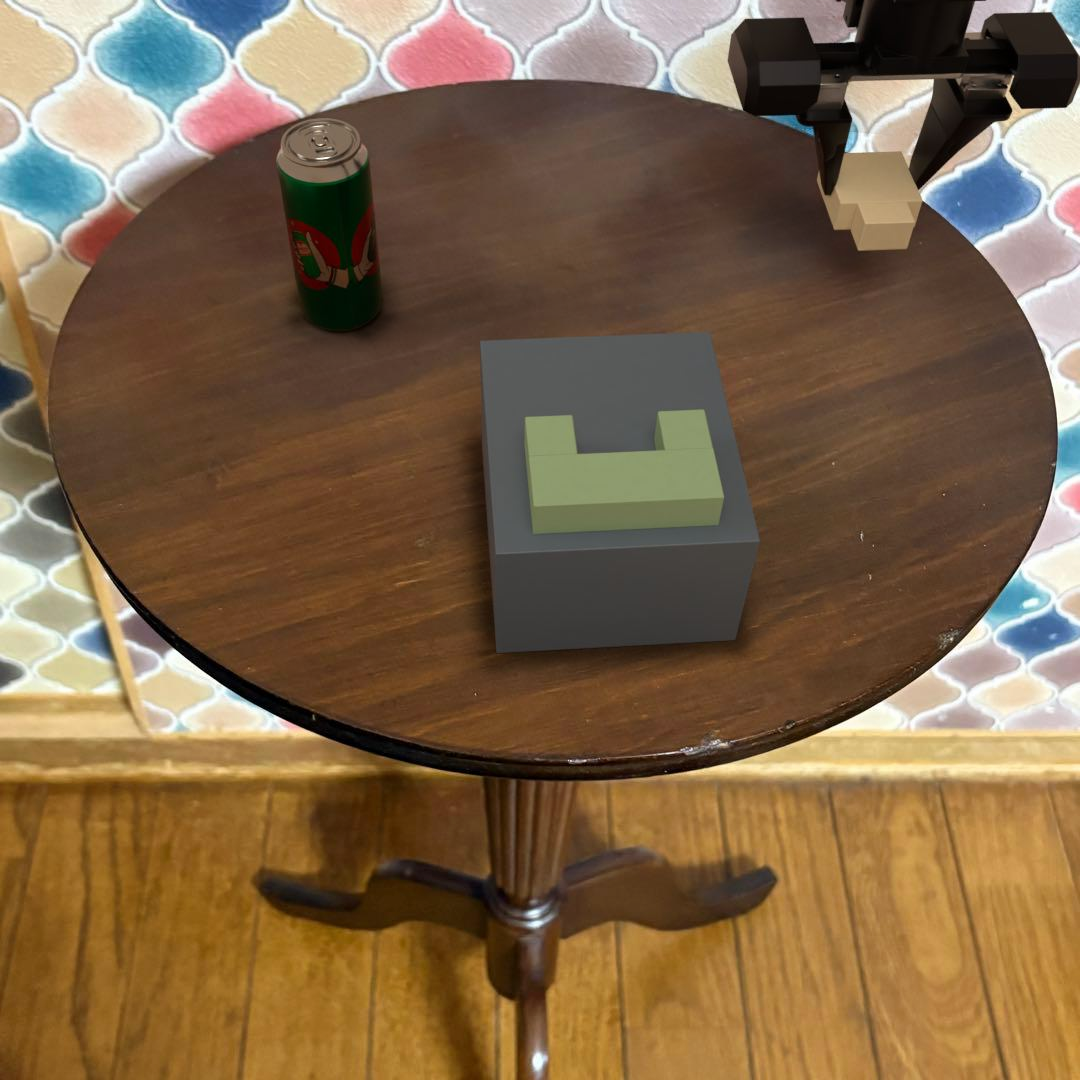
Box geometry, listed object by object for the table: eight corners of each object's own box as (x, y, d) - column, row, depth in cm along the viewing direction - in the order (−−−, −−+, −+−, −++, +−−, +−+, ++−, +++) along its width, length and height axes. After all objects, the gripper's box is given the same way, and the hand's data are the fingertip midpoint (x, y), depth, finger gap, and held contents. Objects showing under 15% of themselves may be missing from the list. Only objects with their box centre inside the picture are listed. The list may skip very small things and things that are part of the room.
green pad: (699, 437, 62) (704, 408, 60) (718, 525, 58) (724, 497, 57) (524, 445, 61) (524, 416, 60) (532, 534, 58) (533, 506, 56)
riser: (692, 436, 73) (710, 331, 67) (735, 640, 64) (760, 540, 58) (481, 446, 72) (479, 339, 66) (496, 653, 63) (495, 554, 57)
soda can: (368, 274, 81) (350, 105, 72) (394, 324, 78) (380, 155, 69) (290, 294, 80) (262, 124, 70) (314, 345, 77) (288, 176, 68)
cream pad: (894, 178, 81) (901, 150, 79) (923, 248, 76) (932, 221, 75) (816, 180, 81) (822, 153, 79) (841, 251, 76) (848, 224, 75)
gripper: (1059, -137, 72) (979, 110, 84) (730, -132, 71) (697, 118, 83) (1132, -38, 65) (1033, 216, 77) (769, -31, 64) (726, 226, 76)
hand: (868, 189), depth 78 cm, fingers closed on cream pad, 5 cm apart
